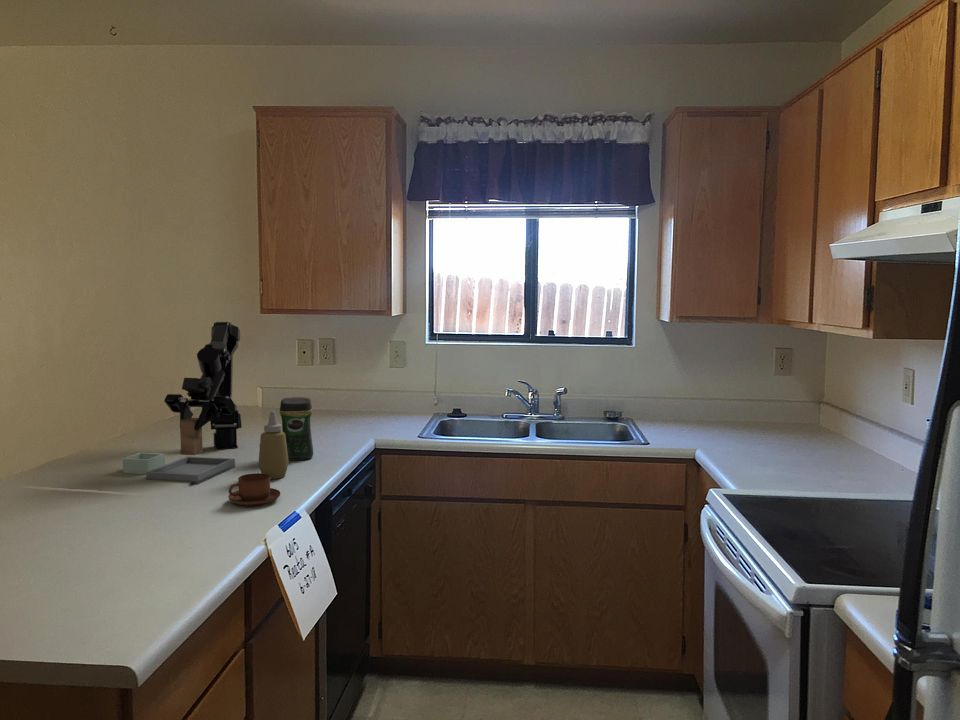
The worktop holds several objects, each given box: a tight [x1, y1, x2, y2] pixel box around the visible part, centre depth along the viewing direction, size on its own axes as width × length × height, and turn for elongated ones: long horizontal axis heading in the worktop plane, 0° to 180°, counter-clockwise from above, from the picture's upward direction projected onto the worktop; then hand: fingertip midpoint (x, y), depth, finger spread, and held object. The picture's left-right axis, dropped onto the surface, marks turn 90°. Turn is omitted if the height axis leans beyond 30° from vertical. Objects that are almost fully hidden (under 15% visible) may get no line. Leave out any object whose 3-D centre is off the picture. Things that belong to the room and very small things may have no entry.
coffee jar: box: [279, 396, 314, 461], centre depth 218 cm, size 10×8×19 cm
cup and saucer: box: [228, 472, 281, 507], centre depth 174 cm, size 12×12×6 cm
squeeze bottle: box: [257, 410, 290, 480], centre depth 196 cm, size 8×8×18 cm
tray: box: [145, 455, 236, 485], centre depth 199 cm, size 19×15×2 cm
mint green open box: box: [122, 452, 166, 475], centre depth 200 cm, size 8×8×4 cm
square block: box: [179, 417, 203, 456], centre depth 198 cm, size 4×4×10 cm
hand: (188, 429), depth 197 cm, fingers closed on square block, 4 cm apart
